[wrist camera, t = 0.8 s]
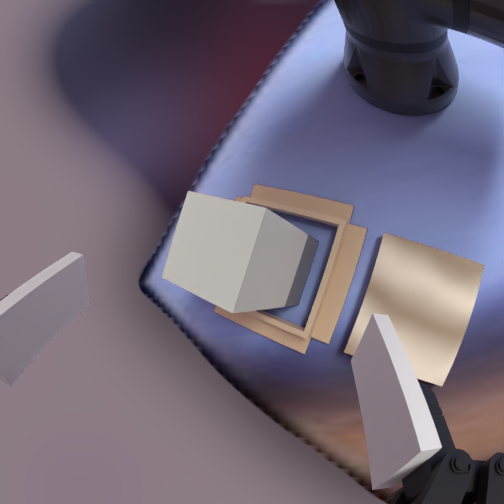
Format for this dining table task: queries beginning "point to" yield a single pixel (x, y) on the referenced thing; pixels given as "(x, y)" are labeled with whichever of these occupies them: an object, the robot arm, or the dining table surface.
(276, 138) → the dining table surface
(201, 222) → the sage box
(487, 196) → the dining table surface
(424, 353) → the birch board
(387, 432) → the robot arm
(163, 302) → the dining table surface
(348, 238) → the tan square frame
